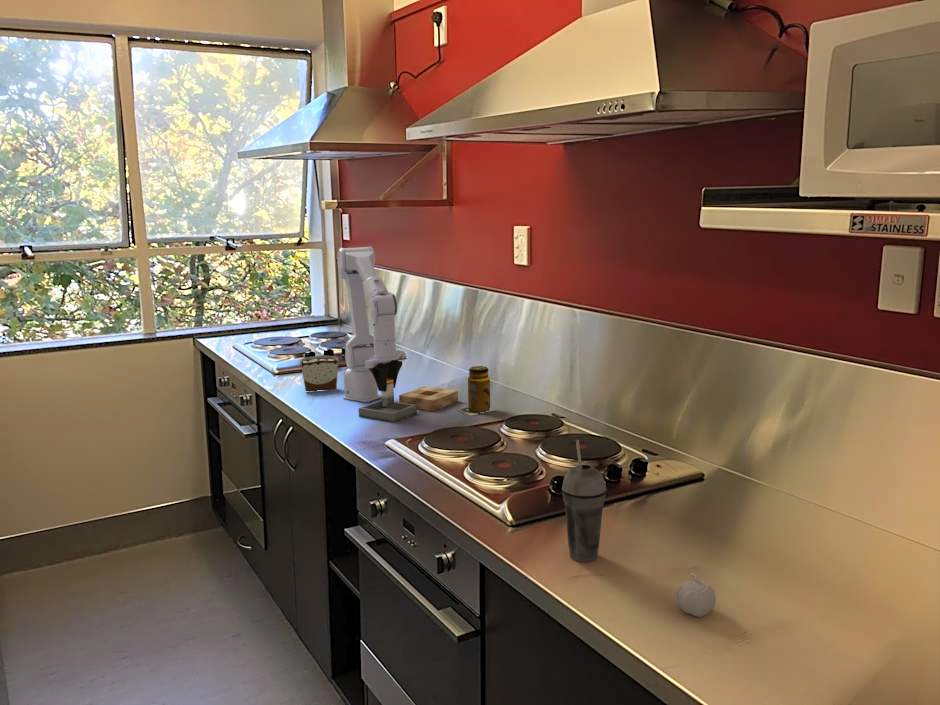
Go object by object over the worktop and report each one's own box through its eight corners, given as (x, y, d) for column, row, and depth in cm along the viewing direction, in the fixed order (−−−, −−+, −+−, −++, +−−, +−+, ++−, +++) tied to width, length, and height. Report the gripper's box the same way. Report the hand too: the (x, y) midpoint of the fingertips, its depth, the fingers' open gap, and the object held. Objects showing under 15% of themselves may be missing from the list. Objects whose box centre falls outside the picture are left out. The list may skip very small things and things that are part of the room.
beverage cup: (613, 562, 130) (615, 443, 126) (572, 569, 128) (572, 448, 124) (594, 544, 137) (595, 430, 133) (554, 550, 135) (554, 435, 131)
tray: (358, 416, 218) (358, 408, 217) (382, 407, 226) (381, 399, 226) (394, 422, 211) (393, 413, 211) (416, 413, 220) (416, 405, 219)
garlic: (676, 598, 118) (677, 565, 117) (715, 603, 116) (716, 570, 115) (674, 619, 112) (675, 585, 111) (715, 624, 111) (716, 590, 110)
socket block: (399, 405, 228) (398, 395, 227) (424, 396, 238) (423, 386, 237) (434, 411, 221) (433, 400, 221) (458, 401, 231) (457, 390, 231)
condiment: (496, 411, 220) (496, 368, 218) (471, 416, 216) (470, 372, 213) (481, 405, 226) (480, 363, 224) (456, 410, 222) (455, 368, 219)
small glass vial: (379, 405, 217) (378, 380, 216) (386, 402, 220) (385, 377, 219) (389, 406, 216) (388, 381, 214) (396, 403, 219) (395, 378, 217)
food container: (338, 385, 254) (336, 354, 252) (341, 389, 248) (339, 357, 246) (298, 388, 250) (296, 357, 248) (301, 393, 244) (298, 361, 242)
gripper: (379, 345, 206) (381, 396, 209) (412, 336, 218) (414, 385, 221) (358, 343, 210) (360, 393, 213) (392, 334, 222) (394, 382, 225)
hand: (386, 389), depth 217 cm, fingers closed on small glass vial, 3 cm apart
